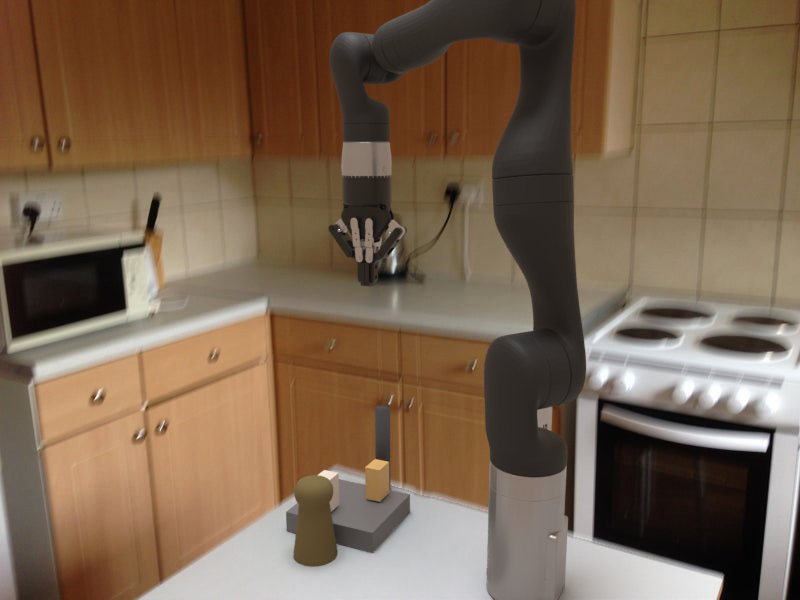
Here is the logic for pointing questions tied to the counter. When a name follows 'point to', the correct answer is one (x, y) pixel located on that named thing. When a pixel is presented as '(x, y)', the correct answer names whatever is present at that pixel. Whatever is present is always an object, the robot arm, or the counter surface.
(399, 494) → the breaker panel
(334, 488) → the cream rectangular block
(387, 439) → the post
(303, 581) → the counter surface
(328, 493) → the olive knobbed post
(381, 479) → the block
